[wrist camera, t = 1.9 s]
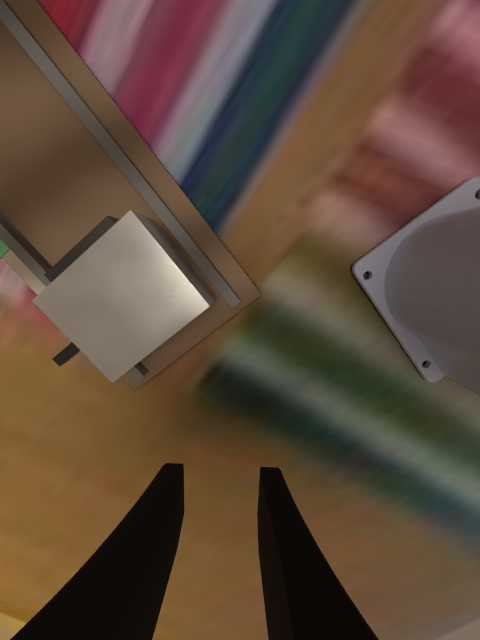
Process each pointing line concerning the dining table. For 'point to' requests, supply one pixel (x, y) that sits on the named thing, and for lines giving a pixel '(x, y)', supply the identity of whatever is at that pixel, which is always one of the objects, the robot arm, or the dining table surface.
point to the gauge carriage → (122, 293)
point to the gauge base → (89, 176)
